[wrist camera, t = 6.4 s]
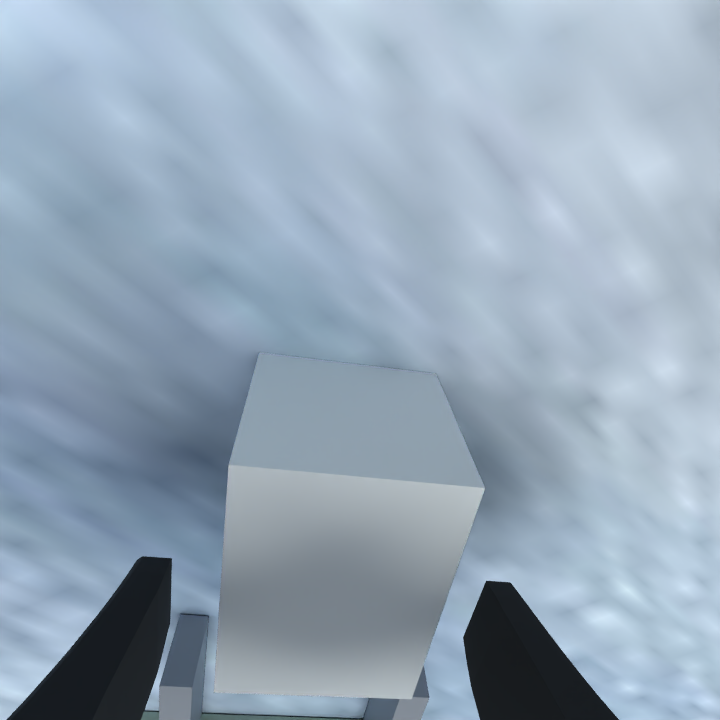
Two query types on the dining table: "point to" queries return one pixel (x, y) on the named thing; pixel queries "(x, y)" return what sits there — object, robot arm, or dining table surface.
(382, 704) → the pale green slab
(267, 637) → the tall pale grey block
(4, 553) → the dining table surface
